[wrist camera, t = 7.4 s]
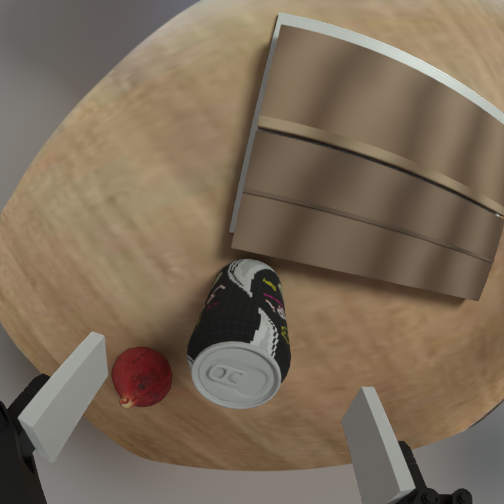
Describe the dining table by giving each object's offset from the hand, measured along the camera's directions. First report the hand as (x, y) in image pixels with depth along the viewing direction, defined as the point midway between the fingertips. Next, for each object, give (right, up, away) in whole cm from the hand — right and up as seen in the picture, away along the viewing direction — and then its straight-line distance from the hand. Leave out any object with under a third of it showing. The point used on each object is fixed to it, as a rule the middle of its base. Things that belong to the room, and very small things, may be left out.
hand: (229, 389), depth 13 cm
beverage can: (+1, +4, +12) cm, 13 cm away
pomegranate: (-9, -4, +15) cm, 18 cm away
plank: (+15, +18, +7) cm, 24 cm away
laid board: (+13, +9, +10) cm, 19 cm away
